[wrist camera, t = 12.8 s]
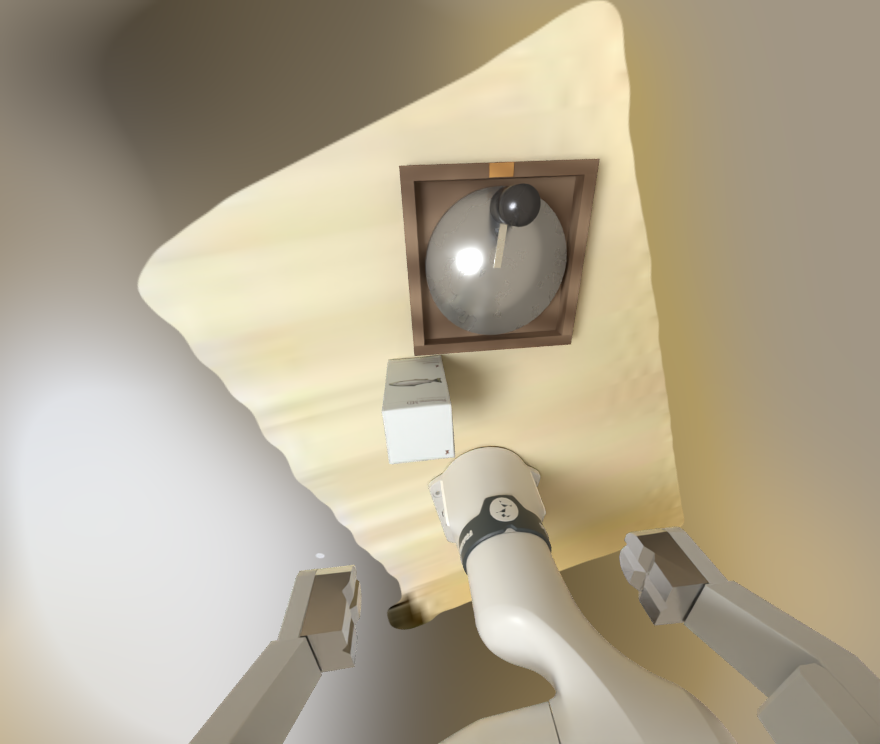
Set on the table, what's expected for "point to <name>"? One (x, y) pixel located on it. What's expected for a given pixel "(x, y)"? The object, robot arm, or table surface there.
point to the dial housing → (445, 184)
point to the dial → (496, 259)
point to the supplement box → (417, 411)
